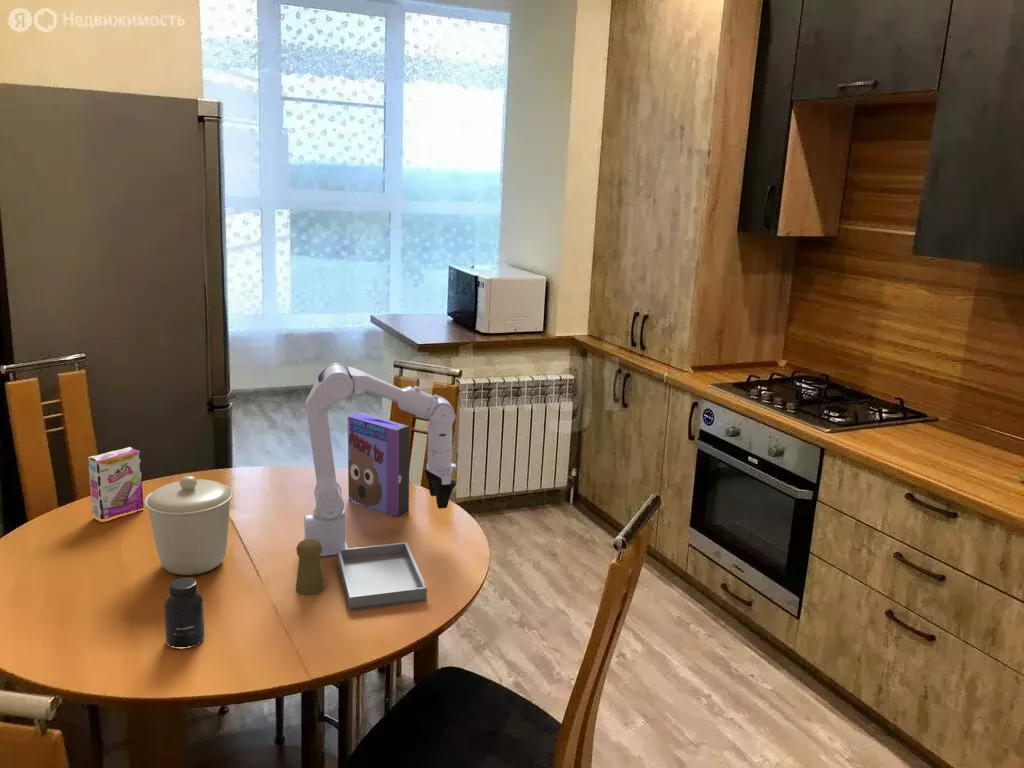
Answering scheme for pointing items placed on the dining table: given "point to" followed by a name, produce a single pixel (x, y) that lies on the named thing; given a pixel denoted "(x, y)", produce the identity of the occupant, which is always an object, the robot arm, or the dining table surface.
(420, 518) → the dining table surface
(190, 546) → the canister
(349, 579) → the box
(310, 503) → the dining table surface
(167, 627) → the supplement bottle
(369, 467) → the cereal box
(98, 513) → the candy bar box
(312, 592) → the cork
